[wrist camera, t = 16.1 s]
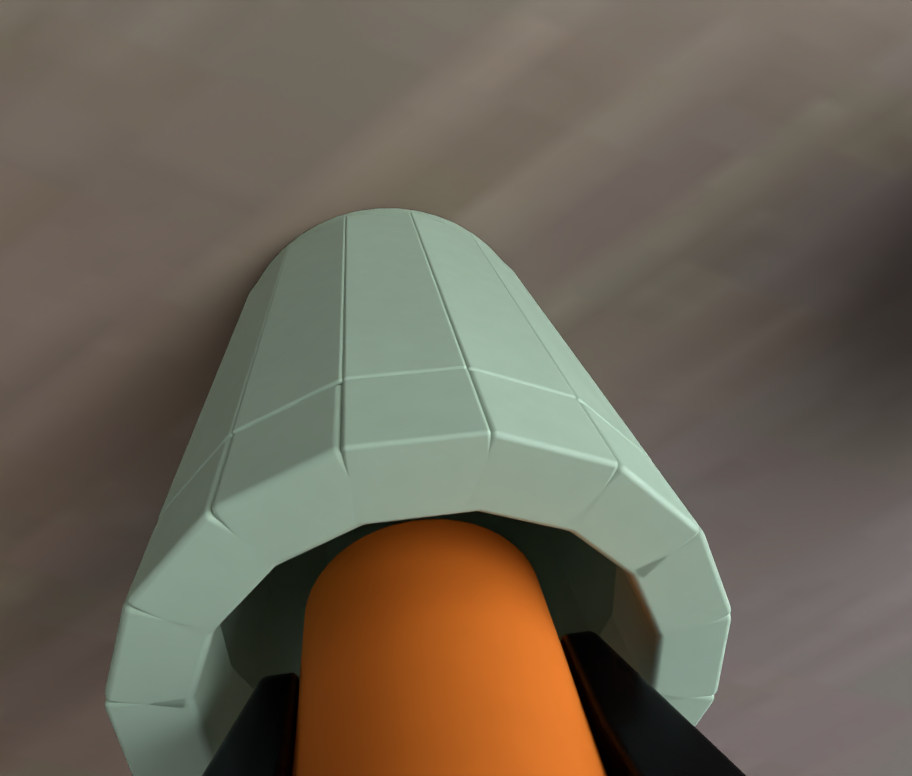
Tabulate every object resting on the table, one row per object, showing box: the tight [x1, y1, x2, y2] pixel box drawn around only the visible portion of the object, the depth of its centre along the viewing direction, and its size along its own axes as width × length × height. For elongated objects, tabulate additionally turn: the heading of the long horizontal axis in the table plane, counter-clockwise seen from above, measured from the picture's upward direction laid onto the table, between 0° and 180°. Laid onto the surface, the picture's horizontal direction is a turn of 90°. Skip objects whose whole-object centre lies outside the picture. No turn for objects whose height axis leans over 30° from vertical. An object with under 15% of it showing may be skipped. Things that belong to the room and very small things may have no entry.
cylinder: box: [292, 519, 607, 776], centre depth 7 cm, size 3×3×4 cm
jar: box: [105, 208, 731, 776], centre depth 13 cm, size 7×7×10 cm
